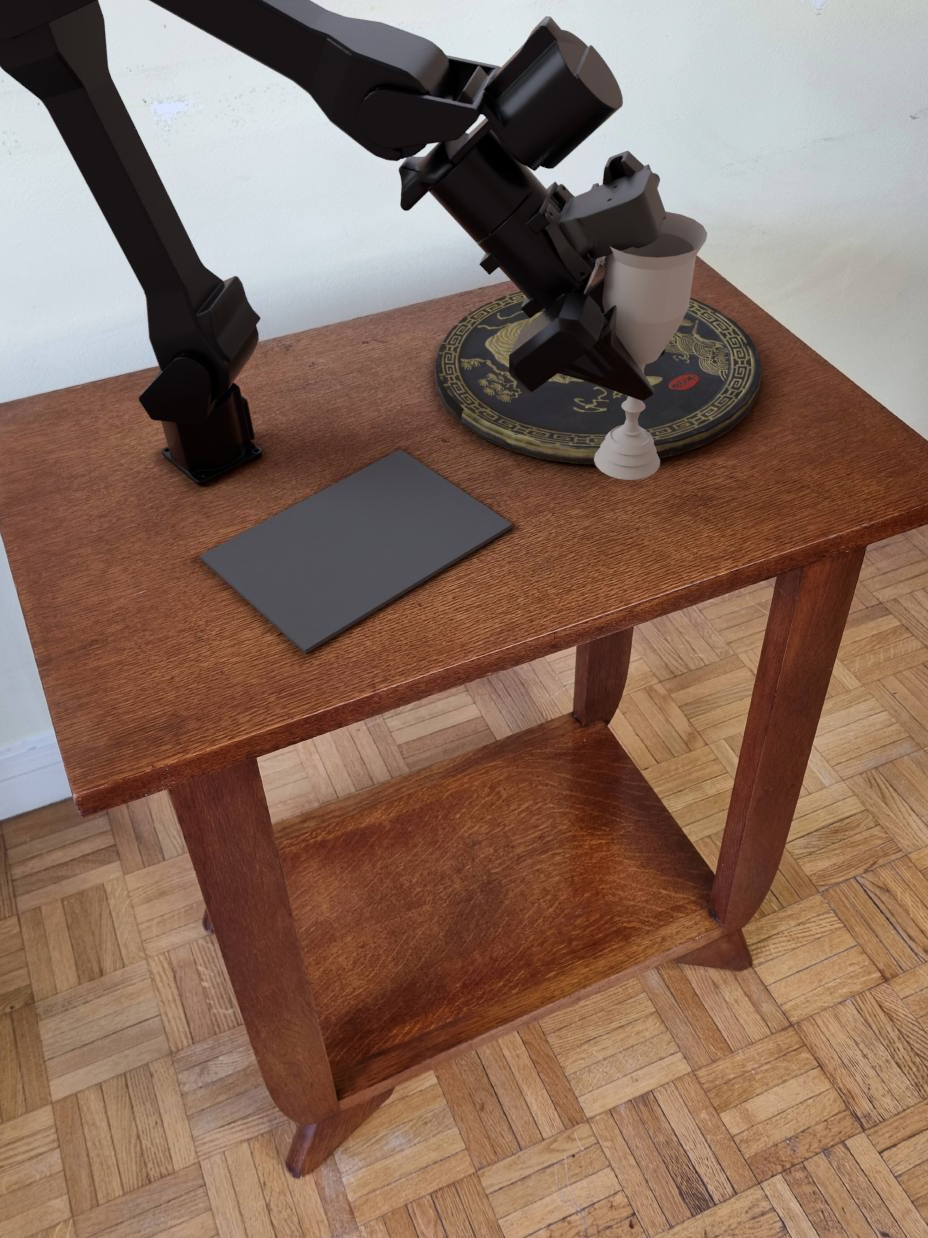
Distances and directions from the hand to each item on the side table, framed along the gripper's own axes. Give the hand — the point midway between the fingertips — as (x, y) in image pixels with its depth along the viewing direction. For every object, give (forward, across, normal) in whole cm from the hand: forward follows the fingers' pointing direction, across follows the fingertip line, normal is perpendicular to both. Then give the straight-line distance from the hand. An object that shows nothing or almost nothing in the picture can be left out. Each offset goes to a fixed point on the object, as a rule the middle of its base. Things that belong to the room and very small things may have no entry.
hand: (654, 375), depth 78 cm
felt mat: (-6, -9, +23) cm, 26 cm away
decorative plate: (+4, +19, +14) cm, 24 cm away
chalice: (+4, 0, +6) cm, 8 cm away
